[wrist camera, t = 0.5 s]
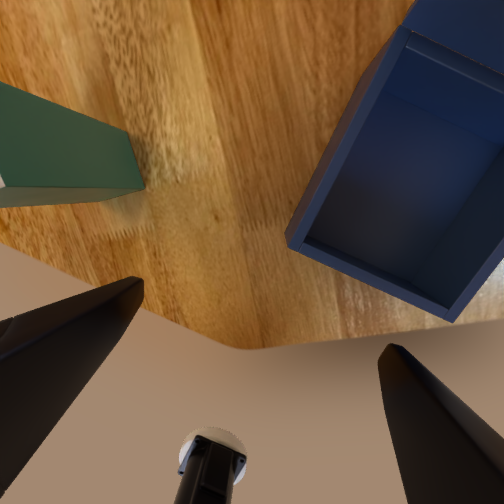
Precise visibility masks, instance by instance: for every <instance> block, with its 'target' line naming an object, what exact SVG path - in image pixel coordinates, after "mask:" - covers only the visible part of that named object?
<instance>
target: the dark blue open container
mask: <svg viewBox="0 0 504 504" xmlns="http://www.w3.org/2000/svg"><path fill="white" fill-rule="evenodd" d="M285 238H286V242H287V247H288V248H290V249H292V250H294V251H297V252H299V253H301V254H303V255H305V256H307V257H310V258H312V259H314V260H316V261H318V262H320V263H323V264H325V265H327V266H329V267H331V268H334V269H336V270H338V271H340V272H342V273H344V274H347V275H349V276H351V277H353V278H355V279H357V280H360V281H362V282H364V283H366V284H368V285H370V286H373V287H375V288H377V289H379V290H381V291H383V292H386V293H388V294H390V295H392V296H394V297H397V298H399V299H401V300H403V301H405V302H407V303H410V304H412V305H414V306H416V307H418V308H420V309H423V310H425V311H427V312H429V313H431V314H433V315H436V316H438V317H440V318H442V319H444V320H446V321H449V322H451V323H454V321H455V320H456V319H457V317H458V316H459V315H460V313H461V312H462V311H463V310H464V308H465V307H466V306H467V304H468V303H469V302H470V300H471V299H472V298H473V297H474V295H475V294H476V293H477V291H478V290H479V289H480V287H481V286H482V285H483V284H484V282H485V281H486V280H487V278H488V277H489V276H490V275H491V273H492V272H493V271H494V269H495V268H496V267H497V265H498V264H499V263H500V262H501V260H502V259H503V258H504V75H503V74H501V73H499V72H497V71H495V70H492V69H490V68H488V67H486V66H484V65H482V64H480V63H478V62H476V61H474V60H472V59H470V58H468V57H466V56H463V55H461V54H459V53H457V52H455V51H453V50H451V49H449V48H447V47H445V46H443V45H441V44H439V43H437V42H434V41H432V40H430V39H428V38H426V37H424V36H422V35H420V34H418V33H416V32H412V30H410V29H408V28H406V27H404V26H402V25H399V26H398V27H397V29H396V30H395V31H394V33H393V34H392V35H391V37H390V38H389V39H388V41H387V42H386V43H385V45H384V46H383V47H382V49H381V50H380V51H379V53H378V54H377V56H376V57H375V58H374V60H373V61H372V62H371V64H370V65H369V66H368V68H367V69H366V70H365V72H364V73H363V74H362V76H361V78H360V80H359V82H358V84H357V86H356V88H355V90H354V92H353V94H352V96H351V98H350V101H349V103H348V105H347V107H346V109H345V111H344V113H343V115H342V117H341V119H340V121H339V123H338V125H337V127H336V129H335V131H334V133H333V135H332V137H331V139H330V141H329V143H328V145H327V147H326V149H325V151H324V153H323V155H322V157H321V159H320V162H319V164H318V166H317V168H316V170H315V172H314V174H313V176H312V178H311V180H310V182H309V184H308V186H307V188H306V190H305V192H304V194H303V196H302V198H301V200H300V202H299V204H298V206H297V208H296V210H295V212H294V214H293V216H292V218H291V220H290V222H289V225H288V227H287V229H286V231H285Z"/></svg>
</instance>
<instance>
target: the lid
mask: <svg viewBox="0 0 504 504" xmlns="http://www.w3.org/2000/svg"><path fill="white" fill-rule="evenodd" d="M402 26H404V27H406V28H408V29H410V30H413V31H415V32H417V33H419V34H421V35H423V36H425V37H427V38H429V39H431V40H433V41H435V42H437V43H439V44H442V45H444V46H446V47H448V48H450V49H452V50H454V51H456V52H458V53H460V54H462V55H464V56H466V57H468V58H471V59H473V60H475V61H477V62H479V63H481V64H483V65H485V66H487V67H489V68H491V69H493V70H495V71H497V72H500V73H502V74H504V0H415V1H414V2H413V4H412V5H411V7H410V8H409V10H408V11H407V14H406V16H405V18H404V20H403V22H402Z"/></svg>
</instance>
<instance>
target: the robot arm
mask: <svg viewBox="0 0 504 504" xmlns="http://www.w3.org/2000/svg"><path fill="white" fill-rule="evenodd" d="M143 299H144V280H143V279H142V278H138V277H135V276H130V277H127V278H124V279H122V280H119V281H116V282H113V283H110V284H107V285H104V286H101V287H98V288H95V289H93V290H90V291H87V292H84V293H81V294H78V295H75V296H72V297H69V298H66V299H64V300H61V301H58V302H55V303H52V304H49V305H46V306H43V307H40V308H37V309H34V310H32V311H28V312H26V313H23V314H20V315H17V316H15V317H14V318H13V317H11V318H8V319H5V320H2V321H0V498H1V497H2V496H3V494H4V493H5V490H7V489H8V487H9V486H10V485H11V483H12V482H13V481H14V480H15V478H16V477H17V475H18V474H19V473H20V471H21V470H22V469H23V468H24V466H25V465H26V464H27V462H28V461H29V459H30V458H31V457H32V456H33V454H34V453H35V452H36V450H37V449H38V448H39V446H40V445H41V444H42V442H43V441H44V440H45V438H46V437H47V436H48V434H49V433H50V432H51V430H52V429H53V428H54V426H55V425H56V424H57V422H58V421H59V420H60V418H61V417H62V416H63V415H64V413H65V412H66V410H67V409H68V408H69V406H70V405H71V404H72V403H73V401H74V400H75V399H76V397H77V396H78V394H79V393H80V392H81V391H82V389H83V388H84V387H85V385H86V384H87V383H88V381H89V380H90V379H91V377H92V376H93V375H94V373H95V372H96V371H97V369H98V368H99V367H100V365H101V364H102V363H103V361H104V360H105V359H106V357H107V356H108V355H109V353H110V352H111V351H112V350H113V348H114V347H115V345H116V344H117V343H118V341H119V340H120V339H121V337H122V335H123V334H124V332H125V331H126V329H127V327H128V326H129V324H130V322H131V320H132V319H133V317H134V316H135V314H136V312H137V310H138V309H139V307H140V306H141V304H142V302H143ZM378 371H379V378H380V384H381V391H382V398H383V404H384V410H385V414H386V418H387V422H388V427H389V431H390V435H391V438H392V443H393V446H394V450H395V454H396V458H397V462H398V466H399V470H400V474H401V478H402V482H403V486H404V490H405V494H406V498H407V502H408V504H504V439H503V438H502V437H501V436H500V435H499V434H498V433H497V432H496V431H494V429H492V428H491V427H490V426H489V425H488V424H487V423H486V422H485V421H484V420H483V419H481V418H480V417H479V416H478V415H477V414H476V413H475V412H474V411H473V410H472V409H471V408H470V407H468V406H467V405H466V404H465V403H464V402H463V401H462V400H461V399H460V398H459V397H458V396H456V395H455V394H454V393H453V392H452V391H451V390H450V389H449V388H448V387H447V386H445V385H444V384H443V383H442V382H441V381H440V380H439V379H438V378H437V377H436V376H435V375H433V374H432V373H431V372H430V371H429V370H428V369H427V368H426V367H425V366H423V365H422V364H421V363H420V362H419V361H418V360H417V359H416V358H415V357H414V356H412V354H410V353H409V352H408V351H407V350H406V349H405V348H404V347H403V346H400V345H396V344H393V343H390V344H388V345H387V346H386V348H385V349H384V351H383V352H382V354H381V355H380V357H379V359H378ZM246 461H247V457H246V455H244V454H242V453H240V452H237V451H235V450H233V449H231V448H228V447H226V446H224V445H222V444H219V443H217V442H215V441H213V440H210V439H208V438H206V437H203V436H201V435H196V436H195V438H194V440H193V441H192V443H191V445H190V447H189V449H188V451H187V453H186V455H185V457H184V459H183V461H182V463H181V465H180V467H179V470H178V474H179V475H181V476H183V477H182V480H181V483H180V486H179V489H178V492H177V495H176V498H175V501H174V504H231V499H232V492H233V484H234V482H235V480H236V478H237V477H238V475H239V474H240V472H241V470H242V469H243V467H244V465H245V464H246Z"/></svg>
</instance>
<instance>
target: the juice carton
mask: <svg viewBox="0 0 504 504" xmlns="http://www.w3.org/2000/svg"><path fill="white" fill-rule="evenodd" d="M143 189H145V186H144V183H143V180H142V177H141V174H140V171H139V168H138V165H137V162H136V159H135V156H134V153H133V150H132V147H131V144H130V141H129V138H128V135H127V132H126V131H123V130H121V129H118V128H116V127H113V126H111V125H108V124H106V123H103V122H101V121H98V120H96V119H93V118H91V117H88V116H86V115H83V114H81V113H78V112H76V111H73V110H71V109H68V108H66V107H63V106H61V105H58V104H56V103H53V102H51V101H48V100H46V99H43V98H41V97H38V96H36V95H33V94H31V93H28V92H26V91H23V90H21V89H18V88H16V87H13V86H11V85H8V84H6V83H3V82H1V81H0V208H6V207H23V206H39V205H55V204H72V203H88V202H99V201H103V200H107V199H110V198H114V197H118V196H121V195H125V194H129V193H132V192H136V191H140V190H143Z"/></svg>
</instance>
